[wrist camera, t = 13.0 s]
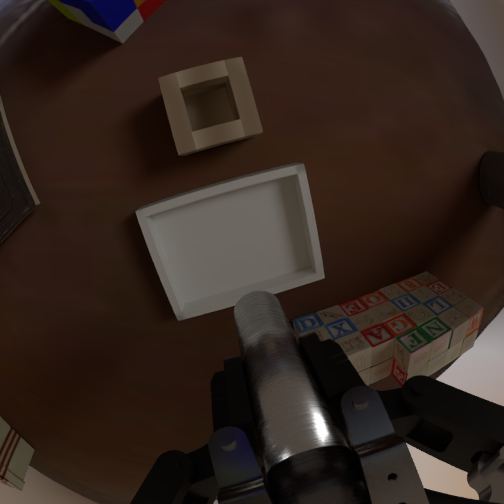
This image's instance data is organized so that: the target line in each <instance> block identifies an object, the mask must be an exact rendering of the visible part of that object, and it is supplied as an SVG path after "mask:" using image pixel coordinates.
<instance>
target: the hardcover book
mask: <svg viewBox="0 0 504 504" xmlns="http://www.w3.org/2000/svg"><path fill="white" fill-rule="evenodd" d="M39 204H40V202H39V200H38V198H37V196H36V194H35V191H34V189H33V187H32V185H31V183H30V180H29V178H28V176H27V173H26V171H25V169H24V166H23V164H22V161H21V159H20V156H19V153H18V151H17V148H16V145H15V143H14V140H13V137H12V134H11V131H10V128H9V125H8V121H7V118H6V115H5V111H4V108H3V104H2V100H1V96H0V244H1V243H2V241H3V240H4V239H5V238H6V237H7V236H8V235H9V234H10V233H11V232H12V231H13V230H14V229H15V228H16V227H17V226H18V224H19V223H20V222H21V221H22V220H23V219H24V218H26V217H27V216H28V215H29V214H30V213H31V212H32V211H33V210H34V209H35V208H36V207H37V206H38V205H39Z"/></svg>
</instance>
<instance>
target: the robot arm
mask: <svg viewBox="0 0 504 504" xmlns="http://www.w3.org/2000/svg"><path fill="white" fill-rule="evenodd" d="M479 184H480V190H481V194H482V197H483V199H484V201H485V202H486V203H488V204H490V205H493V206H496V207H499V208H502V209H504V152H499V151H492V150H491V151H488V152H486V153H485V155H484V157H483V158H482V161H481V165H480V172H479ZM298 339H299V344H300V346H301V348H302V350H303V353H304V355H305V357H306V359H307V361H308V363H309V365H310V367H311V369H312V371H313V373H314V376H315V378H316V380H317V382H318V384H319V386H320V388H321V390H322V392H323V394H324V396H325V399H326V401H327V403H328V405H329V407H330V408H331V410H332V413H333V415H334V417H335V419H336V421H337V423H338V425H339V427H340V429H341V431H342V433H343V436H344V438H345V440H346V442H347V444H348V446H349V448H350V450H351V452H352V454H353V457H354V461H355V465H356V468H357V471H358V474H359V477H360V480H361V481H362V482H363V484H364V487H365V490H364V491H362V492H360V493H359V494H360V496H361V498H362V501H363V503H364V504H504V406H501V405H498V404H496V403H493V402H490V401H487V400H485V399H482V398H480V397H477V396H475V395H472V394H469V393H467V392H464V391H462V390H460V389H457V388H454V387H452V386H450V385H447V384H445V383H442V382H440V381H438V380H435V379H433V378H430V377H428V376H424V375H417V376H413V377H411V378H409V379H408V380H406V381H405V382H404V384H403V386H402V388H398V389H393V390H387V391H378V390H375V389H373V388H371V387H368V386H367V385H366V384H365V383H364V381H363V380H362V378H361V377H360V375H359V374H358V372H357V371H356V369H355V367H354V366H353V364H352V363H351V361H350V360H349V359H348V357H347V355H346V354H345V353H344V351H343V349H342V348H341V346H340V345H339V344H338V343H337V342H335V341H333V340H332V339H327V340H324V341H320V339H319V337H318V335H317V334H316V332H312V333H309V334H306V335H303V336H300V337H298ZM223 362H224V371H220V372H216V373H215V374H214V376H213V378H212V380H211V393H212V394H211V398H212V414H213V428H214V431H213V434H212V435H211V437H210V438H209V441H208V443H207V444H206V445H205V446H203V447H201V448H200V449H197V450H195V451H193V452H190V453H188V454H185V453H183V452H181V451H177V450H172V451H167V452H165V453H163V454H162V455H160V456H159V457H158V459H157V460H156V462H155V463H154V465H153V467H152V468H151V470H150V472H149V473H148V475H147V477H146V478H145V480H144V482H143V483H142V485H141V487H140V488H139V490H138V492H137V493H136V495H135V496H134V498H133V500H132V501H131V503H130V504H213V503H214V501H215V498H216V496H217V500H218V504H276V503H275V500H274V498H273V495H272V493H271V490H270V489H269V484H268V480H267V476H266V471H265V467H264V464H263V460H262V455H261V449H260V445H259V440H258V435H257V428H256V423H255V418H254V414H253V409H252V404H251V399H250V394H249V389H248V384H247V379H246V374H245V369H244V364H243V360H242V357H241V355H240V354H239V355H235V356H232V357H228V358H224V359H223ZM406 443H408V444H409V445H411V446H413V447H416V448H417V449H419V450H421V451H423V452H425V453H427V454H429V455H431V456H433V457H435V458H437V459H439V460H441V461H444V462H446V463H448V464H450V465H452V466H454V467H456V468H459V469H461V470H464V471H466V472H468V475H467V481H468V484H469V485H470V487H472V488H473V489H475V490H476V491H477V493H478V495H479V500H474V499H468V498H463V497H458V496H453V495H449V494H445V493H441V492H437V491H433V490H429V489H426V488H423V485H422V482H421V480H420V477H419V475H418V472H417V470H416V467H415V464H414V462H413V459H412V457H411V454H410V452H409V449H408V447H407V445H406ZM218 493H219V494H218ZM217 494H218V495H217Z"/></svg>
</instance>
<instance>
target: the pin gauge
mask: <svg viewBox="0 0 504 504" xmlns="http://www.w3.org/2000/svg"><path fill="white" fill-rule="evenodd" d="M234 317H235V323H236V329H237V334H238V340H239V345H240V350H241V356H242V360H243V364H244V369H245V374H246V379H247V384H248V389H249V394H250V399H251V404H252V409H253V414H254V418H255V423H256V428H257V435H258V440H259V445H260V449H261V454H262V458H263V463H264V467H265V471H266V476H267V480H268V484H269V489H270V490H271V493H272V495H273V498H274V500H275V503H276V504H364V503H363V501H362V498H361V496H360V494H359V493H360V492H362V491H364V490H365V487H364V484H363V482H362V481H361V480H360V477H359V474H358V471H357V468H356V465H355V461H354V457H353V454H352V452H351V450H350V448H349V446H348V444H347V442H346V440H345V438H344V436H343V433H342V431H341V429H340V427H339V425H338V423H337V421H336V419H335V417H334V415H333V413H332V410H331V408H330V407H329V405H328V403H327V401H326V399H325V396H324V394H323V392H322V390H321V388H320V386H319V384H318V382H317V380H316V378H315V376H314V373H313V371H312V369H311V367H310V365H309V363H308V361H307V359H306V357H305V355H304V353H303V350H302V348H301V346H300V344H299V342H298V340H297V338H296V335H295V333H294V331H293V329H292V327H291V325H290V323H289V321H288V319H287V317H286V315H285V313H284V311H283V308H282V306H281V304H280V302H279V300H278V299H277V298H276V297H275V296H274V295H273V294H271V293H269V292H266V291H253V292H250V293H248V294H246V295H244V296H243V297H242V298H240V300H239V301H238V302H237V304H236V306H235V309H234Z"/></svg>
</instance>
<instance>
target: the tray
mask: <svg viewBox="0 0 504 504" xmlns="http://www.w3.org/2000/svg"><path fill="white" fill-rule="evenodd" d="M135 212H136V215H137V218H138V221H139V224H140V227H141V230H142V233H143V235H144V238H145V241H146V244H147V246H148V249H149V252H150V254H151V257H152V260H153V262H154V265H155V267H156V270H157V272H158V275H159V277H160V280H161V282H162V285H163V287H164V290H165V292H166V294H167V297H168V299H169V301H170V304H171V306H172V308H173V311H174V313H175V315H176V317H177V319H178V321H179V320H183V319H187V318H191V317H195V316H199V315H202V314H206V313H210V312H213V311H217V310H221V309H224V308H228V307H231V306H235V305H236V304H237V302H238V301H239V300H240V298H242V297H243V296H244V295H246V294H248V293H250V292H253V291H266V292H269V293H271V294H276V293H279V292H282V291H286V290H289V289H292V288H295V287H298V286H302V285H305V284H308V283H311V282H314V281H317V280H320V279H323V278H325V276H324V270H323V263H322V257H321V250H320V244H319V239H318V233H317V227H316V222H315V216H314V211H313V206H312V200H311V195H310V190H309V186H308V181H307V176H306V171H305V167H304V164H303V163H293V164H288V165H284V166H280V167H275V168H271V169H267V170H263V171H259V172H255V173H251V174H247V175H244V176H240V177H236V178H232V179H229V180H225V181H221V182H218V183H214V184H211V185H208V186H204V187H201V188H197V189H194V190H191V191H188V192H184V193H181V194H178V195H175V196H172V197H169V198H166V199H163V200H160V201H157V202H154V203H151V204H148V205H145V206H142V207H140V208H139V209H138V210H137V211H135Z"/></svg>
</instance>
